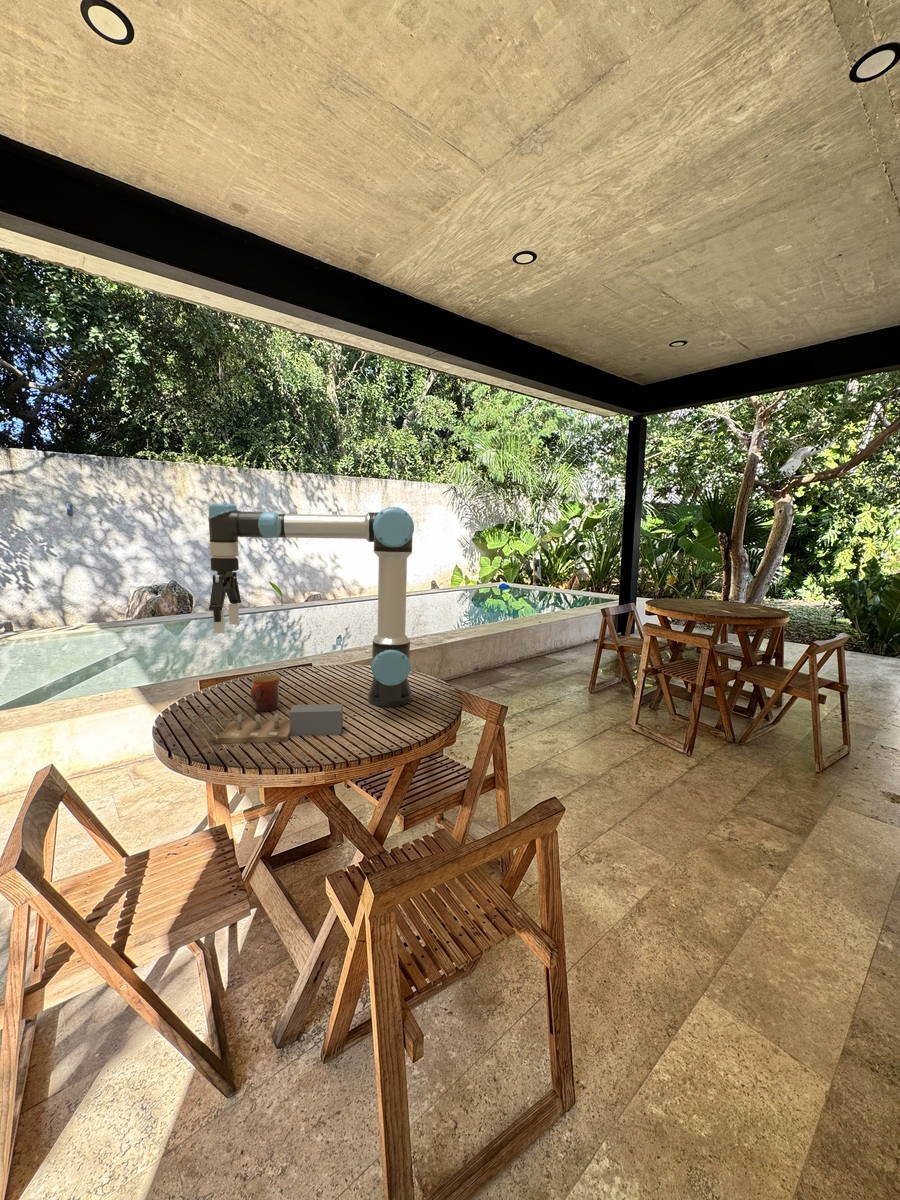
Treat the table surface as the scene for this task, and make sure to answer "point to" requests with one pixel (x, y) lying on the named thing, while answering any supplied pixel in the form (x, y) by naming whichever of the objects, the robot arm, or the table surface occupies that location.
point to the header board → (256, 731)
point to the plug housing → (316, 719)
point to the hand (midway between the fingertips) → (227, 628)
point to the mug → (265, 692)
